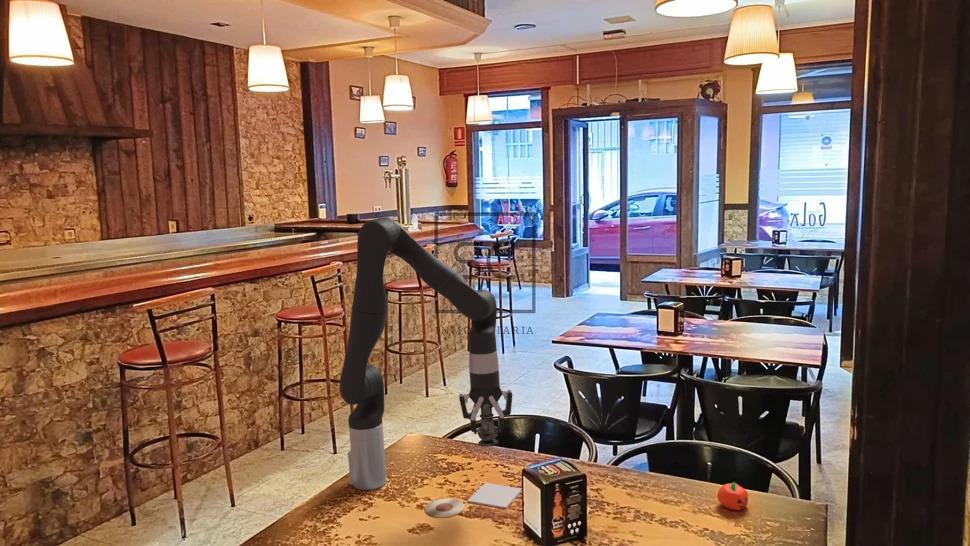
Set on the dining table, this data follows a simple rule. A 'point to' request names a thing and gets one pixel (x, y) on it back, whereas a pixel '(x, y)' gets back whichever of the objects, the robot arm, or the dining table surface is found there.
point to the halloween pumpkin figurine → (733, 496)
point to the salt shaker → (487, 428)
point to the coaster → (444, 508)
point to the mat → (495, 495)
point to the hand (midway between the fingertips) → (487, 431)
